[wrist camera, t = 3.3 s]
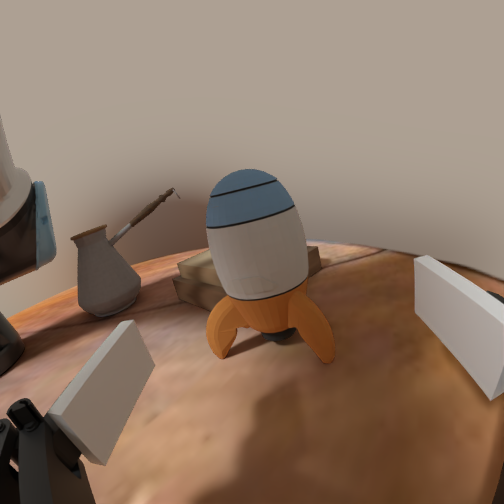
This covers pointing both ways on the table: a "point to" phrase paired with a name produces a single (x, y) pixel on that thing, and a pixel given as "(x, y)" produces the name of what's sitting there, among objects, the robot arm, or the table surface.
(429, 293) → the robot arm
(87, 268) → the coffee pot
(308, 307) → the toy rocket
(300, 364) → the table surface
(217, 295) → the pad
